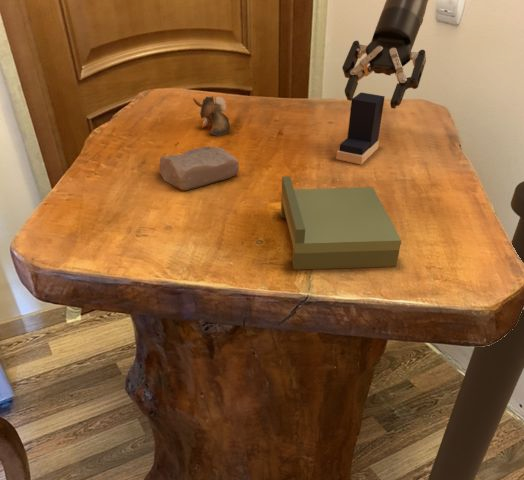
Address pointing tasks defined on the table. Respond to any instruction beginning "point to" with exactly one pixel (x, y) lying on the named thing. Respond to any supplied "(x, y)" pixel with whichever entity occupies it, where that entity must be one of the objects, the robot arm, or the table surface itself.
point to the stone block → (198, 167)
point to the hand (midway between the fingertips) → (370, 102)
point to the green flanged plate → (338, 228)
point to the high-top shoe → (362, 128)
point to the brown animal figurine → (214, 114)
